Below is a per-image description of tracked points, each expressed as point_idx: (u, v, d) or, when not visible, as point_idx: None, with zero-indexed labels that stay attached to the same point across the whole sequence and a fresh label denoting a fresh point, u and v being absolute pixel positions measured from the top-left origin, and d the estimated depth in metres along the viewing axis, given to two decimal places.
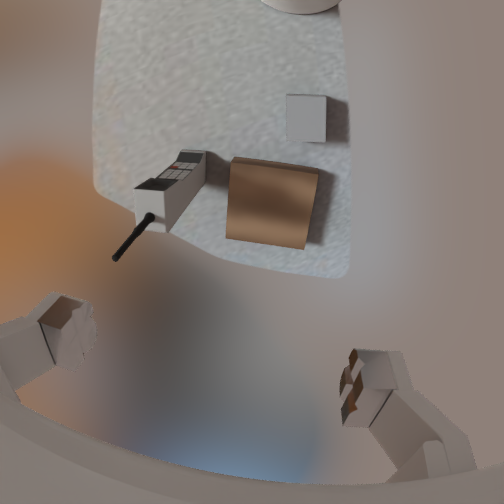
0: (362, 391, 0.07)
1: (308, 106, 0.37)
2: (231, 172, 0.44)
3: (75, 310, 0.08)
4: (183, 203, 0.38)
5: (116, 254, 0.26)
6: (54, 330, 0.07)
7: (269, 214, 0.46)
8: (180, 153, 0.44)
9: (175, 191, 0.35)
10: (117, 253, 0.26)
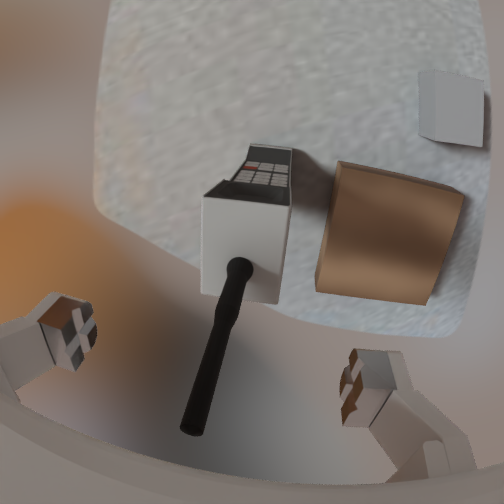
0: (362, 391, 0.07)
1: (463, 90, 0.19)
2: (342, 184, 0.25)
3: (75, 310, 0.08)
4: None
5: (196, 416, 0.07)
6: (54, 330, 0.07)
7: (390, 255, 0.28)
8: (250, 148, 0.26)
9: None
10: (198, 411, 0.07)
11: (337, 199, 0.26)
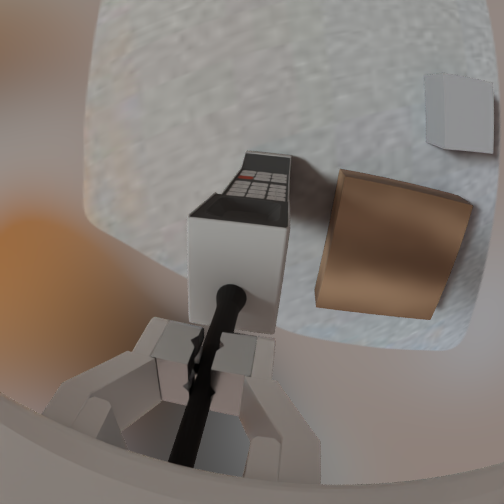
0: (211, 373, 0.07)
1: (472, 93, 0.18)
2: (344, 194, 0.24)
3: (193, 339, 0.08)
4: None
5: None
6: (176, 365, 0.07)
7: (394, 269, 0.26)
8: (246, 156, 0.25)
9: None
10: None
11: (339, 210, 0.24)
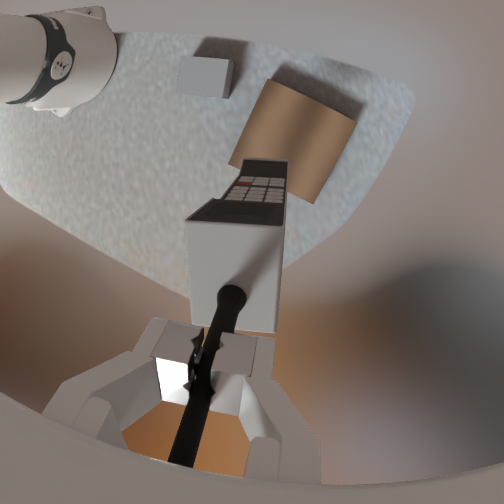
0: (211, 373, 0.07)
1: (188, 73, 0.34)
2: (239, 167, 0.40)
3: (194, 339, 0.08)
4: None
5: None
6: (177, 365, 0.07)
7: (300, 144, 0.38)
8: (244, 162, 0.25)
9: None
10: None
11: None
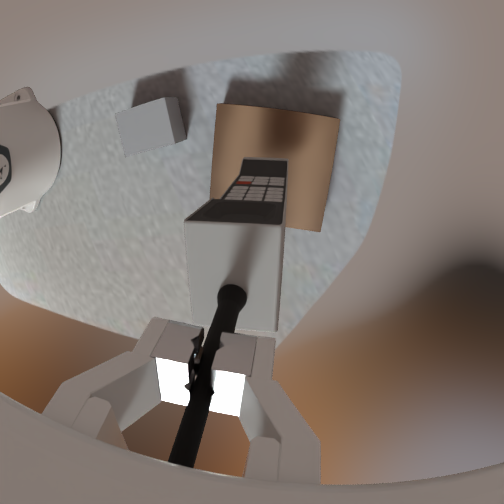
0: (211, 373, 0.07)
1: (129, 129, 0.30)
2: None
3: (194, 339, 0.08)
4: None
5: None
6: (177, 365, 0.07)
7: None
8: (244, 162, 0.25)
9: (284, 228, 0.15)
10: None
11: None
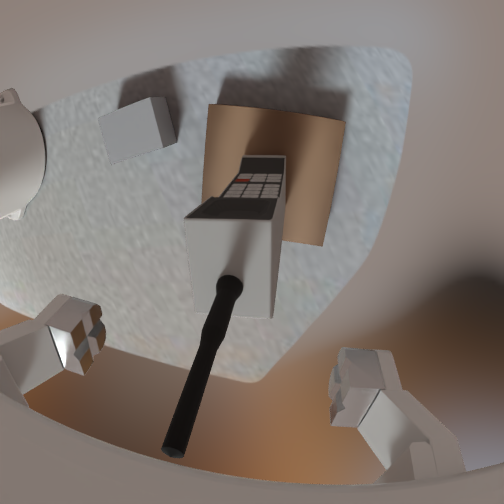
0: (349, 390, 0.07)
1: (113, 134, 0.27)
2: None
3: (84, 313, 0.08)
4: (279, 246, 0.19)
5: (176, 439, 0.07)
6: (63, 333, 0.07)
7: None
8: (243, 160, 0.26)
9: None
10: (178, 434, 0.07)
11: None
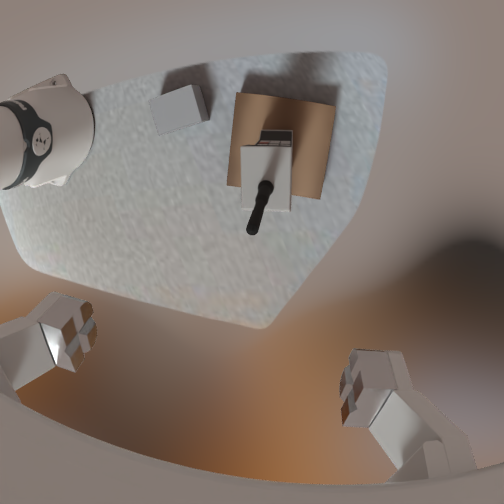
0: (362, 391, 0.07)
1: (161, 112, 0.37)
2: (237, 185, 0.41)
3: (75, 310, 0.08)
4: None
5: (254, 222, 0.16)
6: (54, 330, 0.07)
7: None
8: (262, 132, 0.36)
9: None
10: (255, 221, 0.16)
11: None
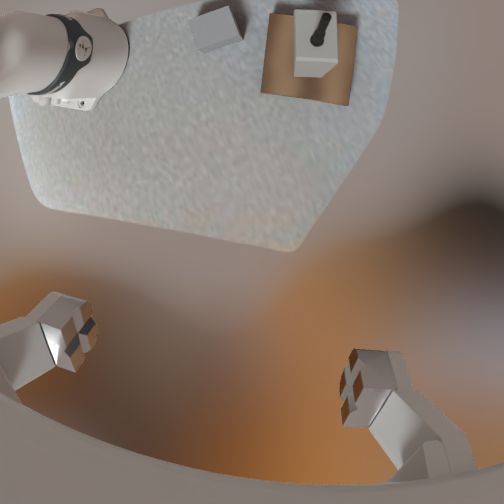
0: (362, 391, 0.07)
1: (200, 29, 0.36)
2: (271, 92, 0.40)
3: (75, 310, 0.08)
4: None
5: None
6: (54, 330, 0.07)
7: None
8: None
9: None
10: None
11: (281, 94, 0.40)
